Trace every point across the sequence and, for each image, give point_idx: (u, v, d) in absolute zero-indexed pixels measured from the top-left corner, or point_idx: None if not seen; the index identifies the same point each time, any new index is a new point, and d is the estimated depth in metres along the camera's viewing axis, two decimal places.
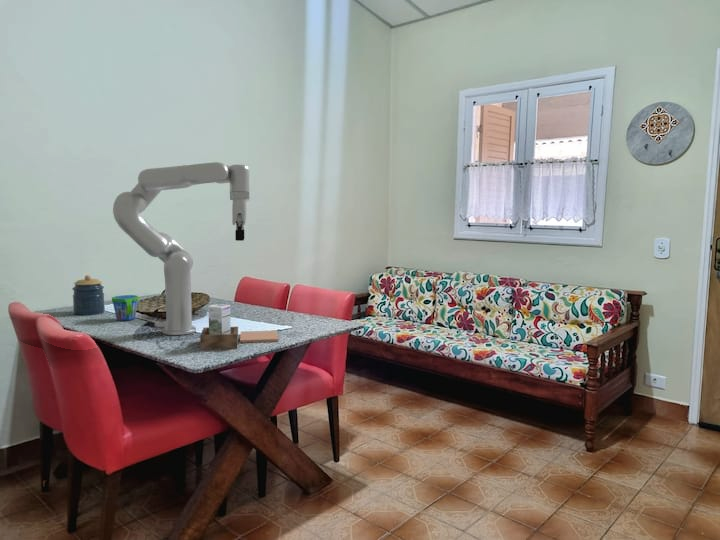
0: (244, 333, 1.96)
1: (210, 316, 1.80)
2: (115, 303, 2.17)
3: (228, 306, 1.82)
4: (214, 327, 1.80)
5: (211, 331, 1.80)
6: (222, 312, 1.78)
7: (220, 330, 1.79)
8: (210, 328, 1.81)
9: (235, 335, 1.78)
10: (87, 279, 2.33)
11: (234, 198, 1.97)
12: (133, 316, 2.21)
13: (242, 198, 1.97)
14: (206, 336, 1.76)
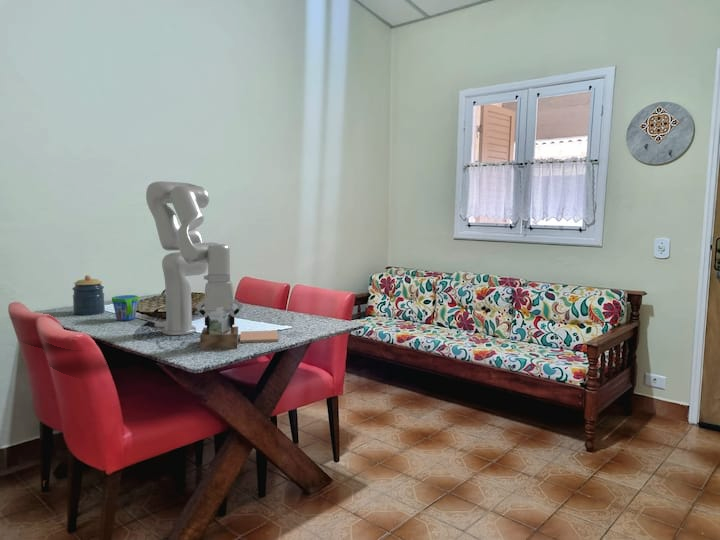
0: (244, 333, 1.96)
1: (210, 316, 1.80)
2: (115, 303, 2.17)
3: None
4: (214, 327, 1.80)
5: (211, 331, 1.80)
6: (222, 312, 1.78)
7: (220, 330, 1.79)
8: (210, 328, 1.81)
9: (235, 335, 1.78)
10: (87, 279, 2.33)
11: (228, 281, 1.79)
12: (133, 316, 2.21)
13: None
14: (206, 336, 1.76)
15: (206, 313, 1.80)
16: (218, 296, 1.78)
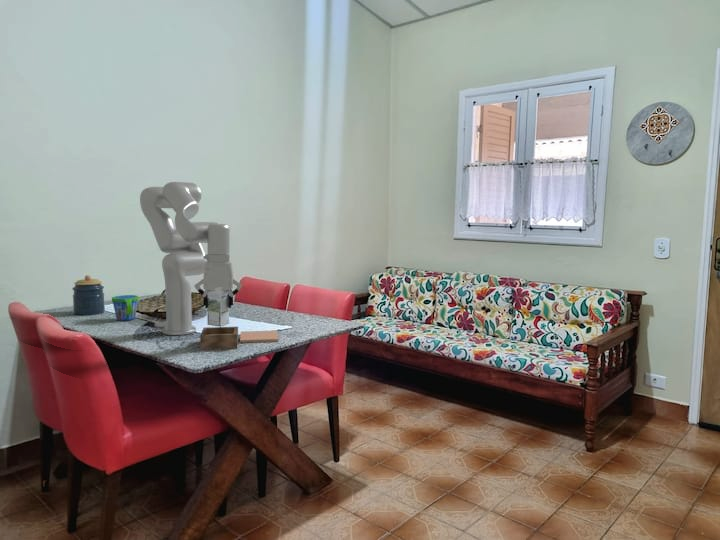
0: (244, 333, 1.96)
1: (209, 296, 1.79)
2: (115, 303, 2.17)
3: None
4: (213, 307, 1.79)
5: (210, 311, 1.80)
6: (221, 292, 1.78)
7: (219, 310, 1.79)
8: (208, 308, 1.80)
9: (235, 335, 1.78)
10: (87, 279, 2.33)
11: (227, 261, 1.79)
12: (133, 316, 2.21)
13: None
14: (206, 336, 1.76)
15: (205, 293, 1.79)
16: (217, 276, 1.78)
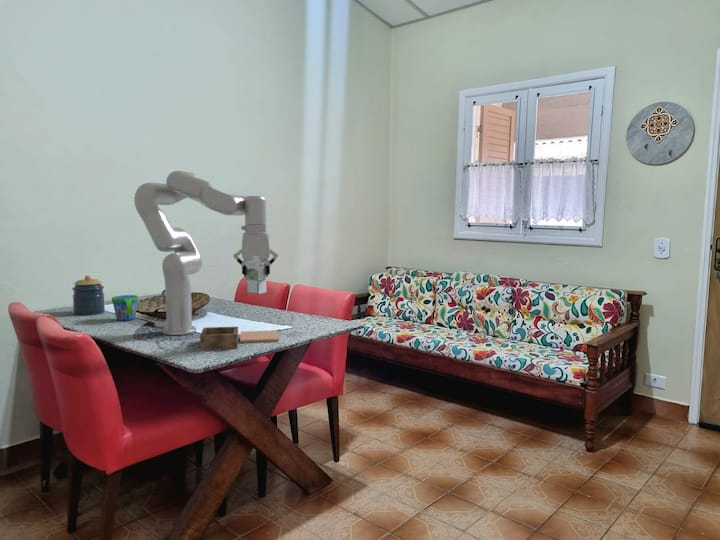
0: (244, 333, 1.96)
1: (247, 265, 1.88)
2: (115, 303, 2.17)
3: None
4: (251, 276, 1.88)
5: (248, 279, 1.88)
6: (259, 261, 1.86)
7: (257, 278, 1.87)
8: (247, 276, 1.88)
9: (235, 335, 1.78)
10: (87, 279, 2.33)
11: (264, 231, 1.87)
12: (133, 316, 2.21)
13: None
14: (206, 336, 1.76)
15: (243, 262, 1.88)
16: (255, 245, 1.86)
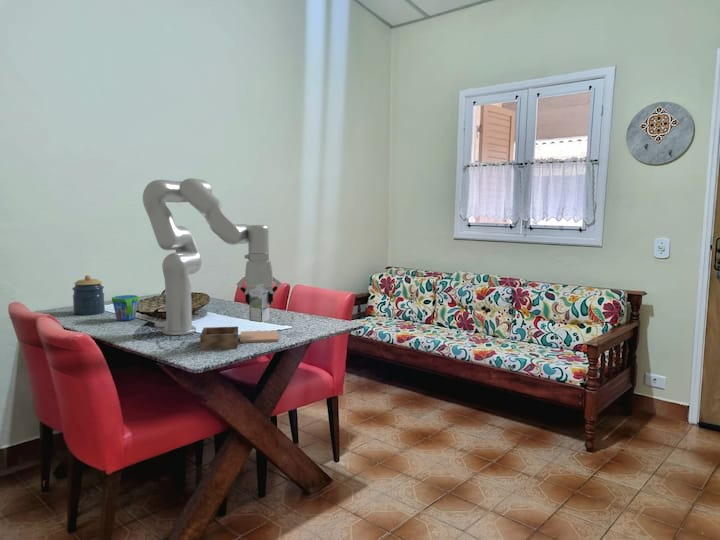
0: (244, 333, 1.96)
1: (250, 293, 1.90)
2: (115, 303, 2.17)
3: None
4: (255, 304, 1.90)
5: (251, 307, 1.90)
6: (262, 289, 1.88)
7: (260, 306, 1.89)
8: (250, 304, 1.90)
9: (235, 335, 1.78)
10: (87, 279, 2.33)
11: (267, 260, 1.89)
12: (133, 316, 2.21)
13: None
14: (206, 336, 1.76)
15: (247, 290, 1.90)
16: (258, 274, 1.88)
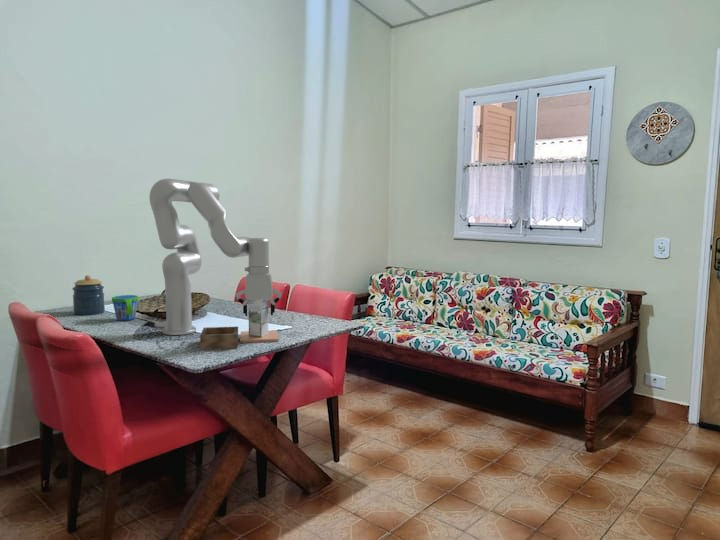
0: (244, 333, 1.96)
1: (250, 308, 1.90)
2: (115, 303, 2.17)
3: None
4: (254, 319, 1.90)
5: (251, 322, 1.91)
6: (261, 304, 1.89)
7: (259, 321, 1.90)
8: (249, 319, 1.91)
9: (235, 335, 1.78)
10: (87, 279, 2.33)
11: (267, 273, 1.90)
12: (133, 316, 2.21)
13: None
14: (206, 336, 1.76)
15: (244, 301, 1.90)
16: (258, 287, 1.89)
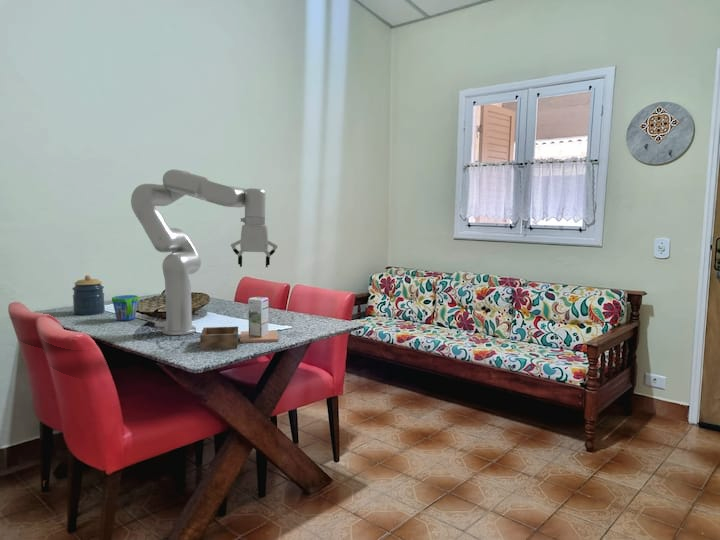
0: (244, 333, 1.96)
1: (250, 308, 1.90)
2: (115, 303, 2.17)
3: (266, 299, 1.93)
4: (254, 319, 1.90)
5: (251, 322, 1.91)
6: (261, 304, 1.89)
7: (259, 321, 1.90)
8: (249, 319, 1.91)
9: (235, 335, 1.78)
10: (87, 279, 2.33)
11: (263, 224, 1.89)
12: (133, 316, 2.21)
13: None
14: (206, 336, 1.76)
15: (239, 252, 1.90)
16: (254, 237, 1.88)
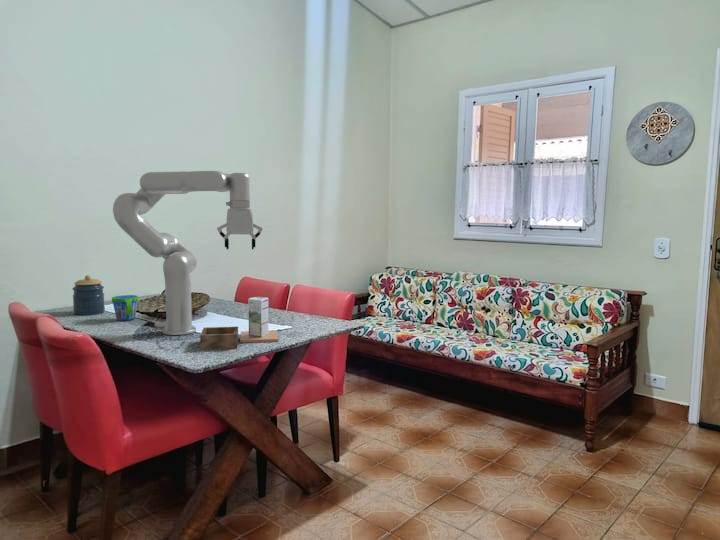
0: (244, 333, 1.96)
1: (250, 308, 1.90)
2: (115, 303, 2.17)
3: (266, 299, 1.93)
4: (254, 319, 1.90)
5: (251, 322, 1.91)
6: (261, 304, 1.89)
7: (260, 321, 1.90)
8: (249, 319, 1.91)
9: (235, 335, 1.78)
10: (87, 279, 2.33)
11: (248, 207, 1.95)
12: (133, 316, 2.21)
13: None
14: (206, 336, 1.76)
15: (226, 235, 1.95)
16: (239, 220, 1.94)
